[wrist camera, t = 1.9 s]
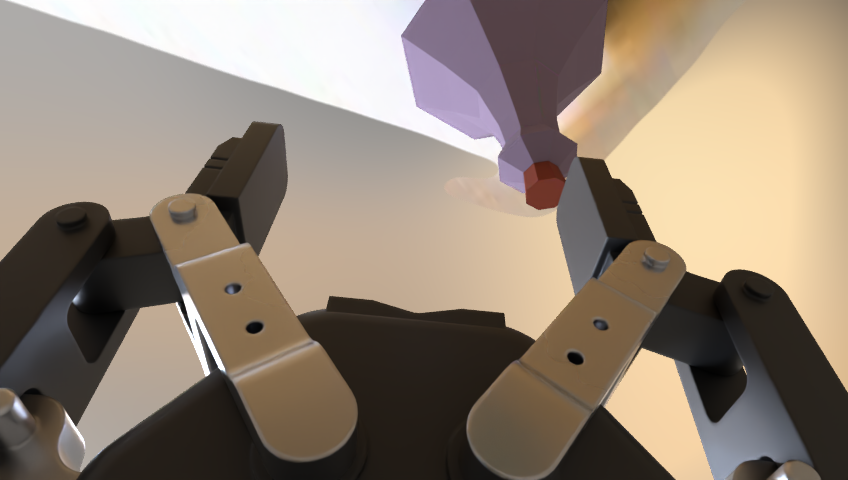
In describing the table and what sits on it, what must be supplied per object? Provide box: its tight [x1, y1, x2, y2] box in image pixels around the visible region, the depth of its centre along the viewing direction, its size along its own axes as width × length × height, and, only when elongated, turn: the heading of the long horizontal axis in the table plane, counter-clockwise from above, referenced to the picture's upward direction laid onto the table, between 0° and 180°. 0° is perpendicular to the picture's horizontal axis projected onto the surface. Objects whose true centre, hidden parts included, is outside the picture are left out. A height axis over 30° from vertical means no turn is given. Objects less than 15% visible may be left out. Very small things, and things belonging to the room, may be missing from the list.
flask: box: [401, 0, 608, 210], centre depth 36 cm, size 16×16×20 cm
